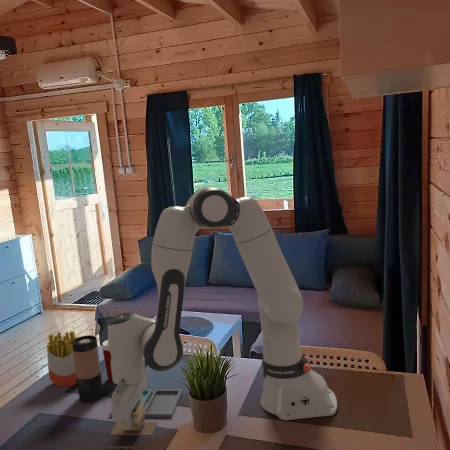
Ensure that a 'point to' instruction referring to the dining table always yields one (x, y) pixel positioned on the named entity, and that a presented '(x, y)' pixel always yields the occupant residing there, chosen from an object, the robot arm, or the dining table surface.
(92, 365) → the travel mug
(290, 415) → the robot arm
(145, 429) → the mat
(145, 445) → the dining table surface
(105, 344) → the paper cup
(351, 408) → the dining table surface
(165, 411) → the gray bin
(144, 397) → the teal bin
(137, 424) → the letter cube
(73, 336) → the french fries container
